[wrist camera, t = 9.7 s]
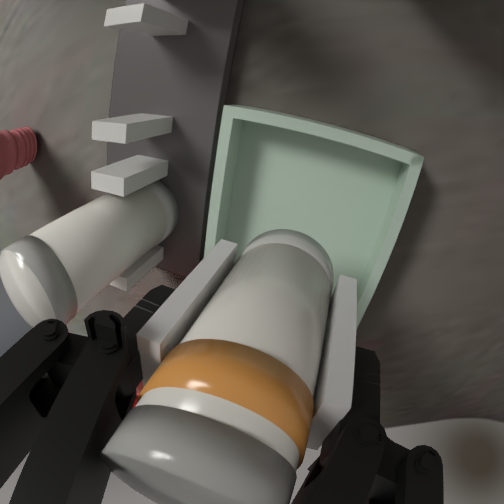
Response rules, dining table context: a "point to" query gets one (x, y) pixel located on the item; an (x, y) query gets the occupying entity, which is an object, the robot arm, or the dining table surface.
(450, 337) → the dining table surface
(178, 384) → the cylinder
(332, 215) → the tray
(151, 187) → the fuse
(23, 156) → the light bulb
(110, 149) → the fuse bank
